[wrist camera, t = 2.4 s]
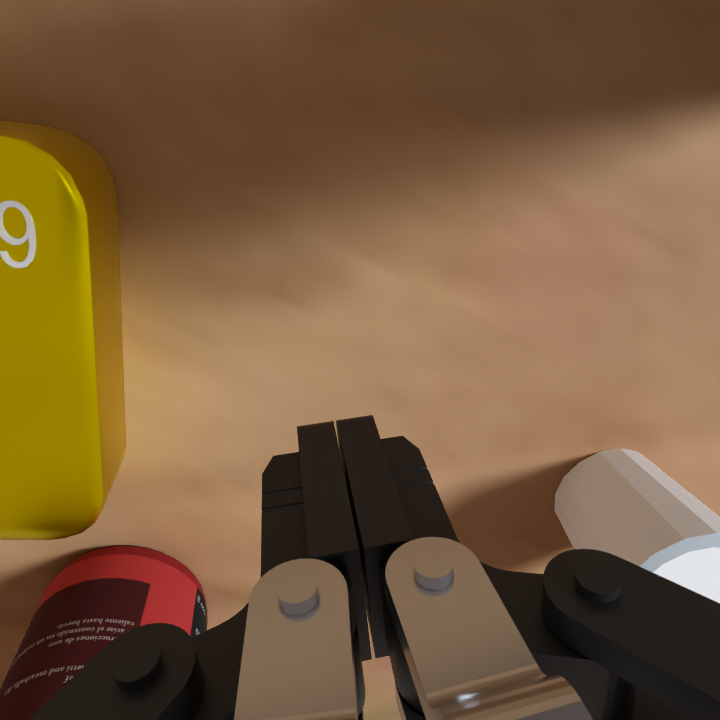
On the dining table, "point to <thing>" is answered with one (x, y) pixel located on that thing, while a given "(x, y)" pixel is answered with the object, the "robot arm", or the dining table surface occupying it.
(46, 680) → the canned food
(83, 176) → the element tile
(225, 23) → the dining table surface
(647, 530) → the white piece
